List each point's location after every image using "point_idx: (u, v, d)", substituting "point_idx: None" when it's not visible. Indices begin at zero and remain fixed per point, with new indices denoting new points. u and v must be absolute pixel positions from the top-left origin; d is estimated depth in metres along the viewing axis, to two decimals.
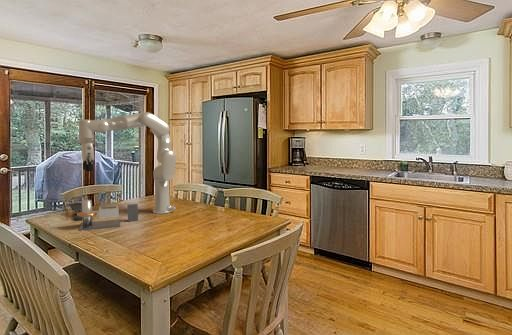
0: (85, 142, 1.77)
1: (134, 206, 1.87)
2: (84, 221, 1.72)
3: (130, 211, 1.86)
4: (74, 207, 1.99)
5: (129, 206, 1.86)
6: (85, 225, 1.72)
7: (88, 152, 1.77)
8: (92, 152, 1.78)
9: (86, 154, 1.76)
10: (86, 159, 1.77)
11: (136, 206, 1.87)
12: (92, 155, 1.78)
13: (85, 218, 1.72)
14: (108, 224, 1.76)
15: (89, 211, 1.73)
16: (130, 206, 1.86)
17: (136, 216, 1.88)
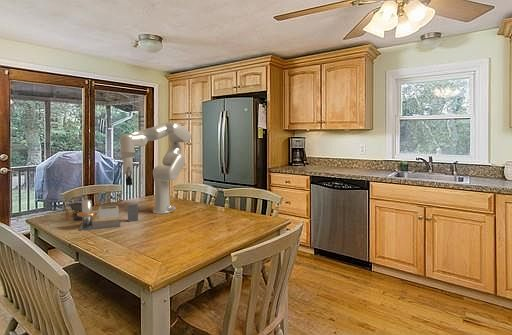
0: None
1: (134, 206, 1.87)
2: (84, 221, 1.72)
3: (130, 211, 1.86)
4: (74, 207, 1.99)
5: (129, 206, 1.86)
6: (85, 225, 1.72)
7: None
8: None
9: None
10: None
11: (136, 206, 1.87)
12: None
13: (85, 218, 1.72)
14: (108, 224, 1.76)
15: (89, 211, 1.73)
16: (130, 206, 1.86)
17: (136, 216, 1.88)
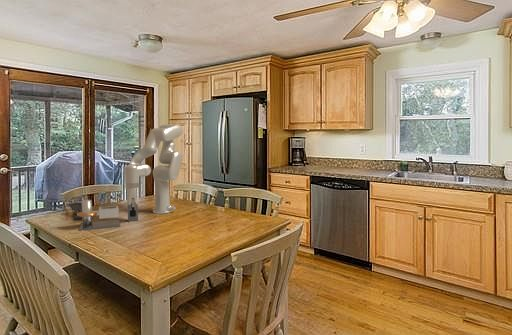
0: None
1: None
2: (84, 221, 1.72)
3: None
4: (74, 207, 2.00)
5: (129, 206, 1.86)
6: (85, 225, 1.72)
7: None
8: None
9: None
10: None
11: (136, 206, 1.87)
12: None
13: (85, 218, 1.72)
14: (108, 224, 1.76)
15: (89, 211, 1.73)
16: None
17: (136, 216, 1.88)
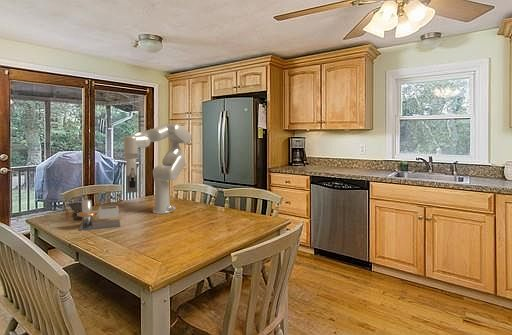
0: None
1: None
2: (84, 221, 1.72)
3: None
4: (73, 207, 2.00)
5: (128, 177, 1.84)
6: (85, 225, 1.72)
7: None
8: None
9: None
10: None
11: (135, 177, 1.86)
12: None
13: (85, 218, 1.72)
14: (108, 224, 1.76)
15: (89, 211, 1.73)
16: (129, 177, 1.84)
17: (135, 187, 1.86)
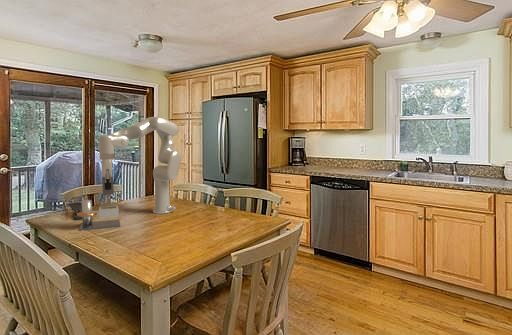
0: None
1: None
2: (84, 221, 1.72)
3: None
4: (73, 207, 2.00)
5: (104, 178, 1.75)
6: (85, 225, 1.72)
7: None
8: None
9: None
10: None
11: (111, 178, 1.76)
12: None
13: (85, 218, 1.72)
14: (108, 224, 1.76)
15: (89, 211, 1.73)
16: None
17: (111, 189, 1.77)
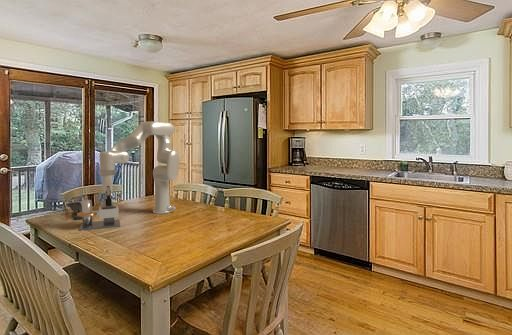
0: None
1: (110, 207, 1.78)
2: (84, 221, 1.72)
3: None
4: (73, 206, 2.01)
5: (104, 208, 1.76)
6: (85, 225, 1.72)
7: None
8: None
9: None
10: None
11: (112, 207, 1.78)
12: None
13: (85, 218, 1.72)
14: (108, 224, 1.76)
15: (89, 211, 1.73)
16: (105, 208, 1.76)
17: (112, 218, 1.79)
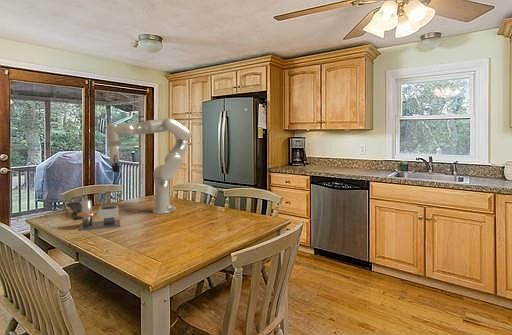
0: None
1: (110, 208, 1.78)
2: (84, 221, 1.72)
3: None
4: (72, 206, 2.01)
5: (105, 208, 1.76)
6: (85, 225, 1.72)
7: None
8: None
9: None
10: None
11: None
12: None
13: (85, 218, 1.72)
14: (108, 224, 1.76)
15: (89, 211, 1.73)
16: (106, 208, 1.77)
17: (112, 218, 1.79)
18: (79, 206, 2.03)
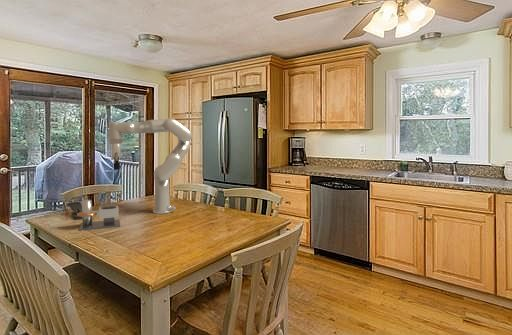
0: None
1: (110, 208, 1.78)
2: (84, 221, 1.72)
3: None
4: (72, 206, 2.01)
5: (105, 208, 1.76)
6: (85, 225, 1.72)
7: None
8: None
9: None
10: None
11: None
12: None
13: (85, 218, 1.72)
14: (108, 224, 1.76)
15: (89, 211, 1.73)
16: (106, 208, 1.77)
17: (112, 218, 1.79)
18: (79, 206, 2.03)
